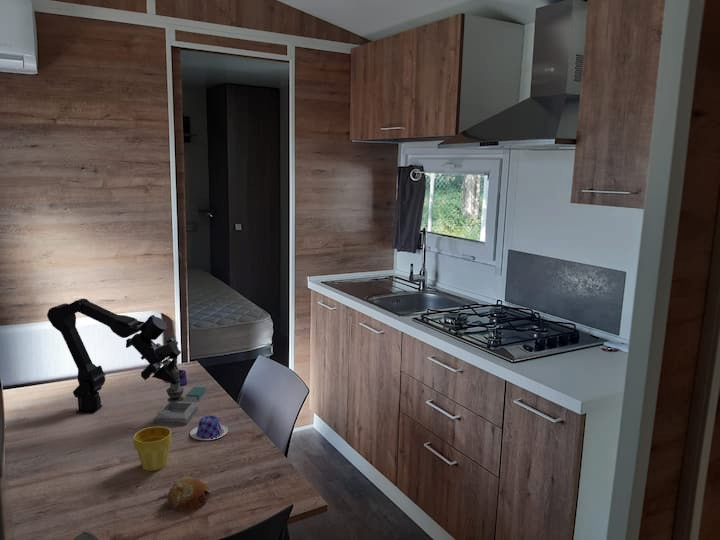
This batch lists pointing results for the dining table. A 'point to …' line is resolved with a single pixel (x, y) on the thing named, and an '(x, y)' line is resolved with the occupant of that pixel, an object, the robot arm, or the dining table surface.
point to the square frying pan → (180, 408)
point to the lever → (183, 378)
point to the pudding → (208, 428)
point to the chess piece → (175, 388)
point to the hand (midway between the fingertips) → (178, 381)
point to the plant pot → (153, 446)
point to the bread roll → (187, 494)
